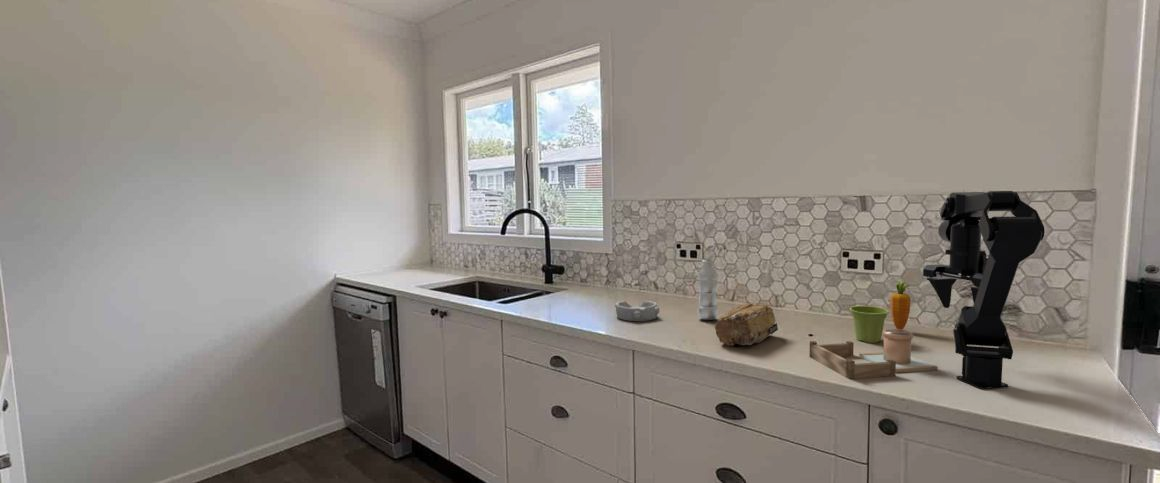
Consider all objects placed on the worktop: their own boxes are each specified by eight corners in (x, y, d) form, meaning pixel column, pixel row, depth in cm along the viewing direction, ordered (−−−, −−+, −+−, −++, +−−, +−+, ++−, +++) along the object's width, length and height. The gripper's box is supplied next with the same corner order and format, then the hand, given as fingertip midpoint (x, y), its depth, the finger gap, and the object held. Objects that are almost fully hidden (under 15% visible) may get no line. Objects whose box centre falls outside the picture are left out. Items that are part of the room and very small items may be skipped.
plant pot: (893, 345, 138) (894, 313, 138) (855, 344, 140) (855, 312, 139) (880, 336, 147) (881, 306, 147) (844, 335, 149) (845, 305, 149)
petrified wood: (756, 351, 135) (748, 314, 135) (711, 353, 143) (703, 318, 143) (780, 332, 150) (773, 298, 150) (738, 335, 158) (731, 303, 158)
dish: (610, 315, 182) (610, 301, 181) (646, 311, 186) (646, 298, 185) (626, 324, 168) (626, 309, 167) (665, 320, 172) (665, 306, 171)
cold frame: (895, 376, 116) (895, 358, 115) (849, 378, 115) (849, 361, 114) (850, 354, 132) (850, 338, 131) (809, 356, 131) (809, 341, 130)
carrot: (891, 328, 155) (892, 279, 153) (910, 331, 152) (912, 280, 150) (888, 332, 151) (889, 281, 150) (908, 335, 148) (909, 283, 146)
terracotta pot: (918, 363, 122) (919, 334, 121) (893, 365, 121) (894, 335, 120) (899, 355, 128) (900, 327, 127) (876, 357, 127) (876, 329, 126)
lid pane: (937, 369, 119) (937, 366, 119) (892, 372, 118) (893, 369, 118) (900, 354, 131) (900, 351, 131) (859, 356, 130) (859, 353, 130)
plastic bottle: (693, 319, 173) (692, 259, 171) (709, 316, 175) (709, 258, 174) (705, 323, 167) (705, 261, 165) (722, 320, 170) (722, 260, 168)
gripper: (1035, 248, 112) (1031, 319, 113) (963, 241, 130) (960, 302, 132) (988, 250, 111) (985, 322, 112) (922, 243, 129) (920, 304, 131)
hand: (962, 311), depth 122 cm, fingers open, 9 cm apart
